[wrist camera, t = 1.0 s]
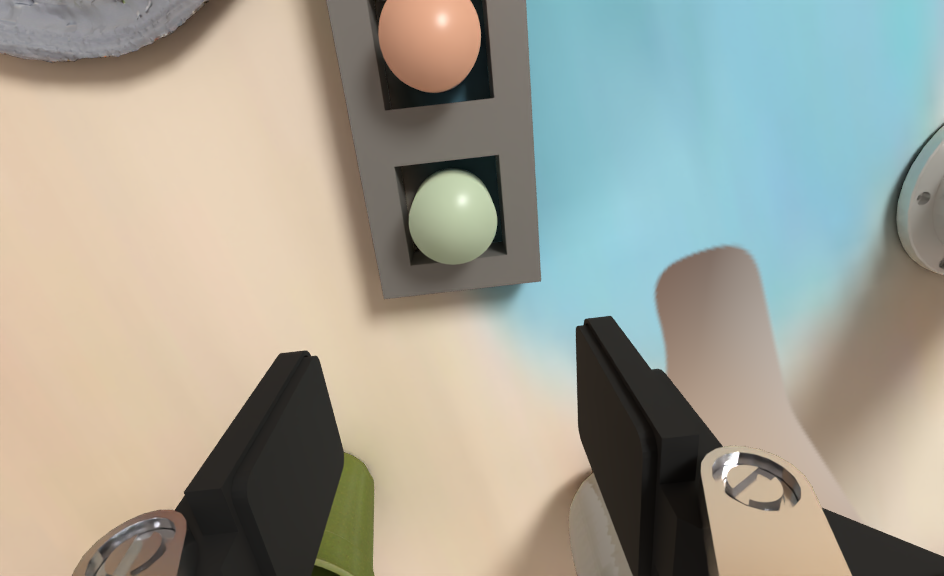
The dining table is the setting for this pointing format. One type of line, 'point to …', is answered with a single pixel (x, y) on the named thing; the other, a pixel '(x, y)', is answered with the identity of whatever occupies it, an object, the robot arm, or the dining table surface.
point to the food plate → (87, 26)
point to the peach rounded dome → (430, 41)
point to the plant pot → (349, 525)
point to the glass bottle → (594, 535)
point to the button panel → (442, 150)
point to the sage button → (452, 217)
